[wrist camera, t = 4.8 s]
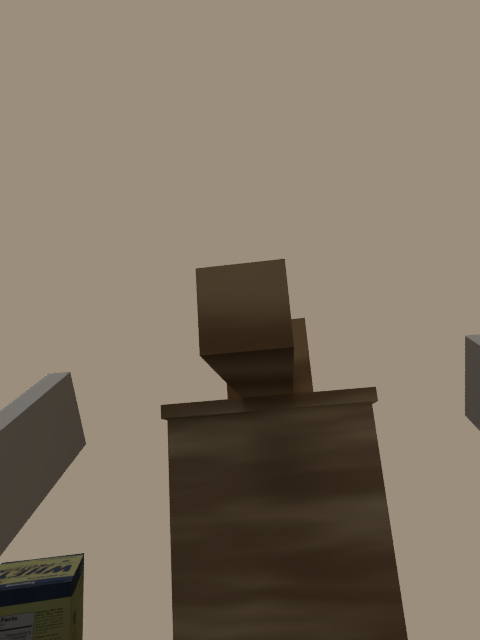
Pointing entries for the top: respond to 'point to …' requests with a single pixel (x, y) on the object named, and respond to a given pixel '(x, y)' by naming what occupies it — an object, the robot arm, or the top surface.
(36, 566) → the protein box
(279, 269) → the mallet
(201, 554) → the block
